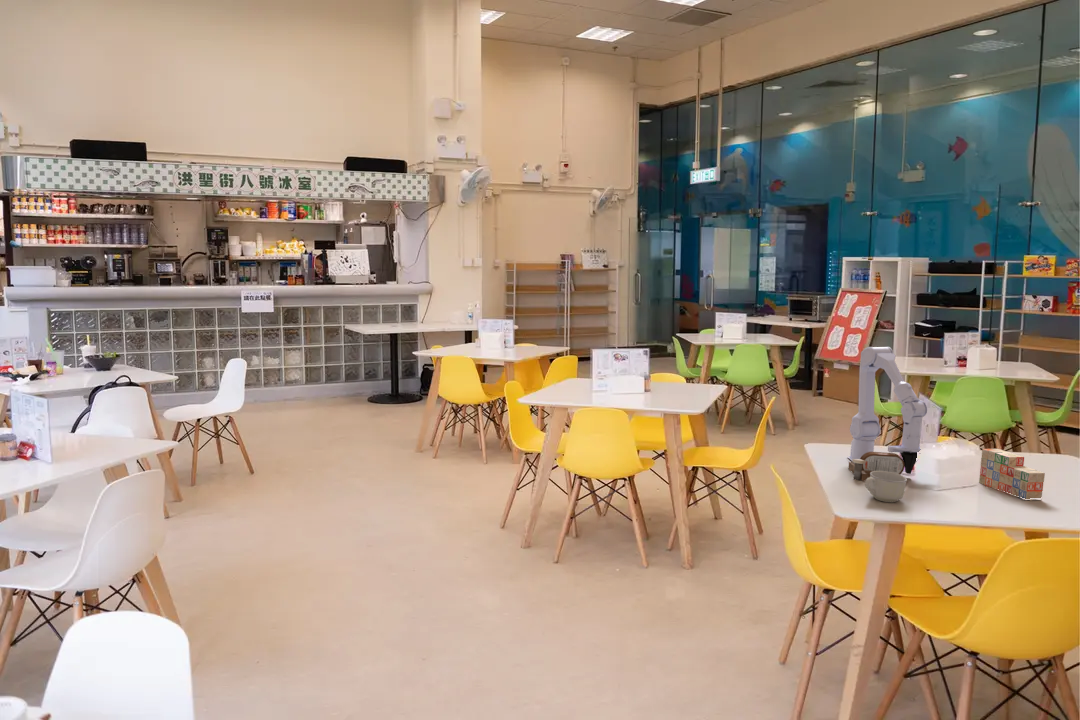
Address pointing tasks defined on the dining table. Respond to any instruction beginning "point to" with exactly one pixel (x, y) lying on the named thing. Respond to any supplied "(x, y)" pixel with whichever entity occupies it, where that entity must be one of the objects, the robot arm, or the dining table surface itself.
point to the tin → (882, 462)
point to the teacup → (886, 485)
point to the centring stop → (859, 470)
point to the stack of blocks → (1010, 474)
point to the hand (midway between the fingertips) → (908, 473)
